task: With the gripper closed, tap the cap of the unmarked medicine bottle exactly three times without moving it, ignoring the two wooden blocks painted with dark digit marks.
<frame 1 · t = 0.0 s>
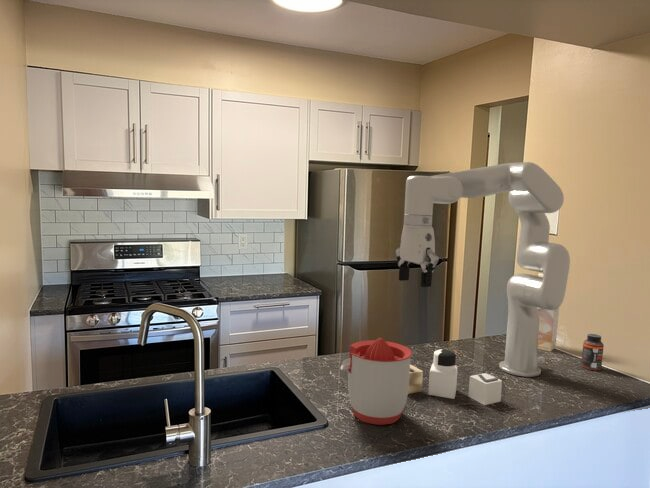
hand: (414, 283, 131), 31 cm above the table, fingers open, 9 cm apart
supplement bottle: (591, 368, 159), on the table
citrus juicer: (373, 415, 119), on the table
medicine bottle: (442, 393, 135), on the table
coffeecake box: (532, 345, 182), on the table
maple block one: (406, 389, 137), on the table
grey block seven: (484, 399, 132), on the table
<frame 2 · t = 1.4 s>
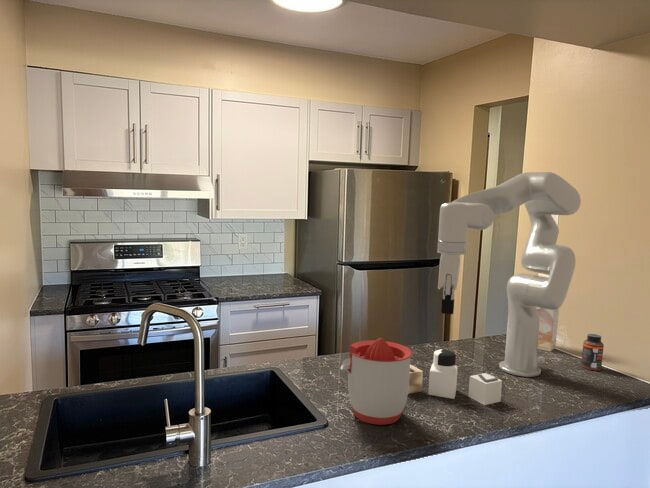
hand: (447, 313, 132), 23 cm above the table, fingers closed
nothing on the table moved.
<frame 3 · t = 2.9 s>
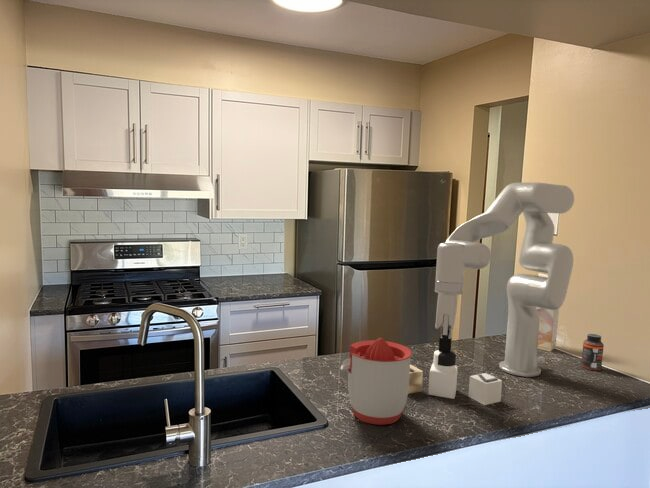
hand: (444, 351, 134), 12 cm above the table, fingers closed
medicine bottle: (442, 393, 135), on the table, touching gripper
everything else where it was.
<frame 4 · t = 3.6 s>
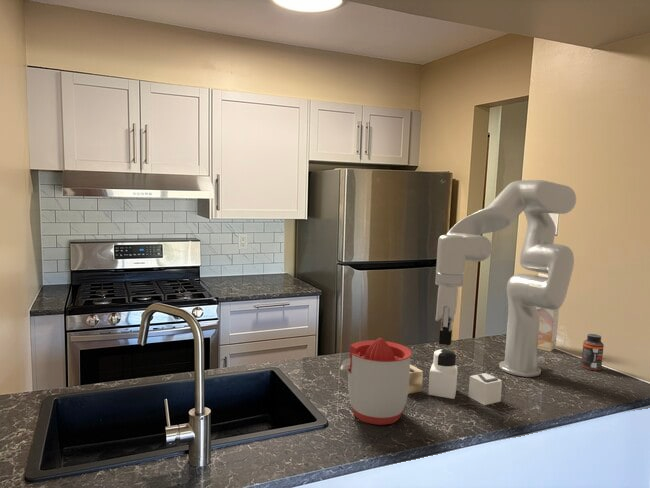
hand: (445, 343, 133), 14 cm above the table, fingers closed
medicine bottle: (442, 393, 135), on the table
everything else where it was.
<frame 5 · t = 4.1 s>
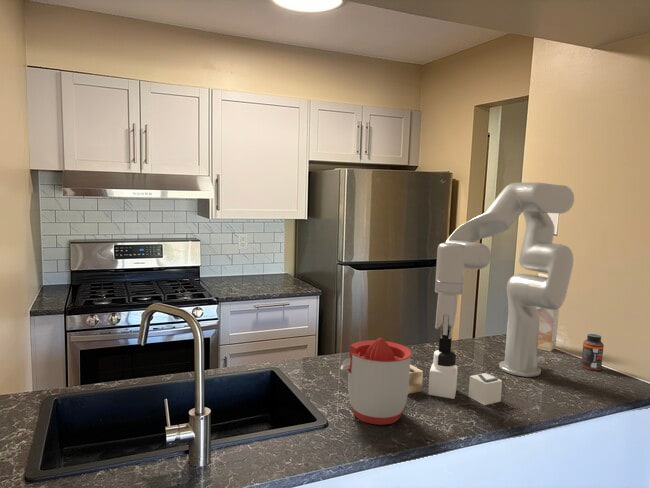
hand: (444, 351, 134), 12 cm above the table, fingers closed
medicine bottle: (442, 393, 135), on the table, touching gripper
everything else where it was.
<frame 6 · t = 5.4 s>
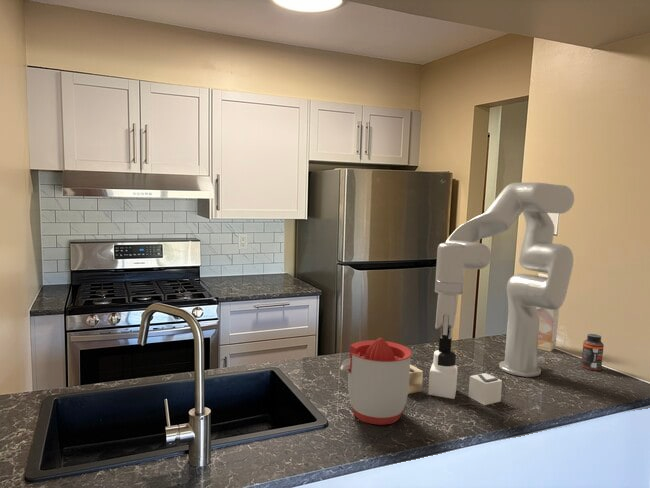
hand: (444, 351, 134), 12 cm above the table, fingers closed
nothing on the table moved.
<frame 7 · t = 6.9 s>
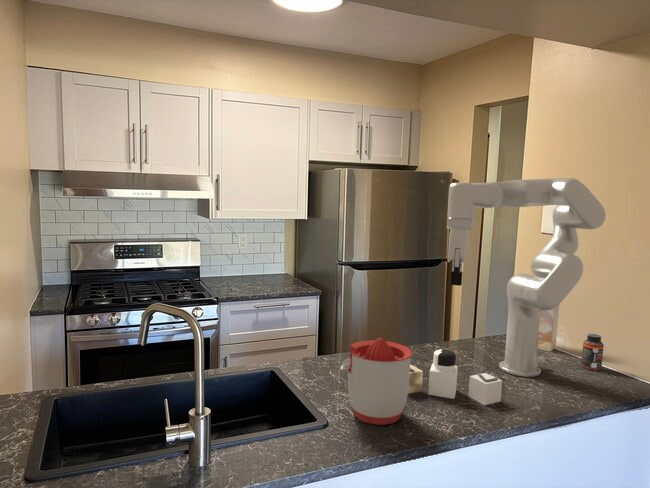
hand: (456, 284, 143), 29 cm above the table, fingers closed
medicine bottle: (442, 393, 135), on the table
everything else where it was.
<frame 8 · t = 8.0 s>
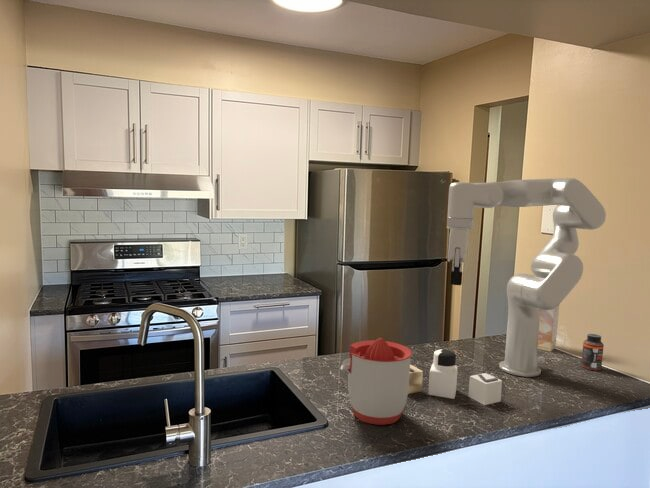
hand: (456, 284, 144), 29 cm above the table, fingers closed
nothing on the table moved.
at the end: medicine bottle moved 0.2 cm from its start; medicine bottle tilted 0°; maple block one moved 0.1 cm from its start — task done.
